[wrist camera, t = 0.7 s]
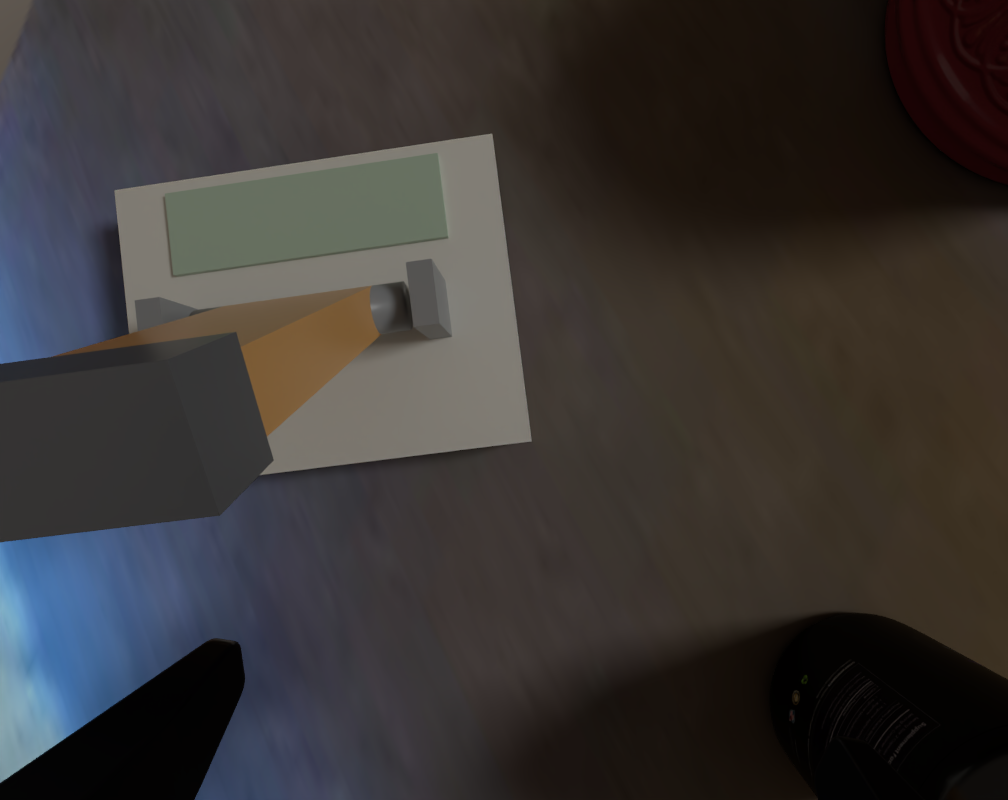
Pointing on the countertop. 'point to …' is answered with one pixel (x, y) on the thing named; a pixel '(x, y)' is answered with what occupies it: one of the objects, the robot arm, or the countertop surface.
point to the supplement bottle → (894, 705)
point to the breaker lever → (172, 409)
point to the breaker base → (350, 264)
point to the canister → (954, 76)
